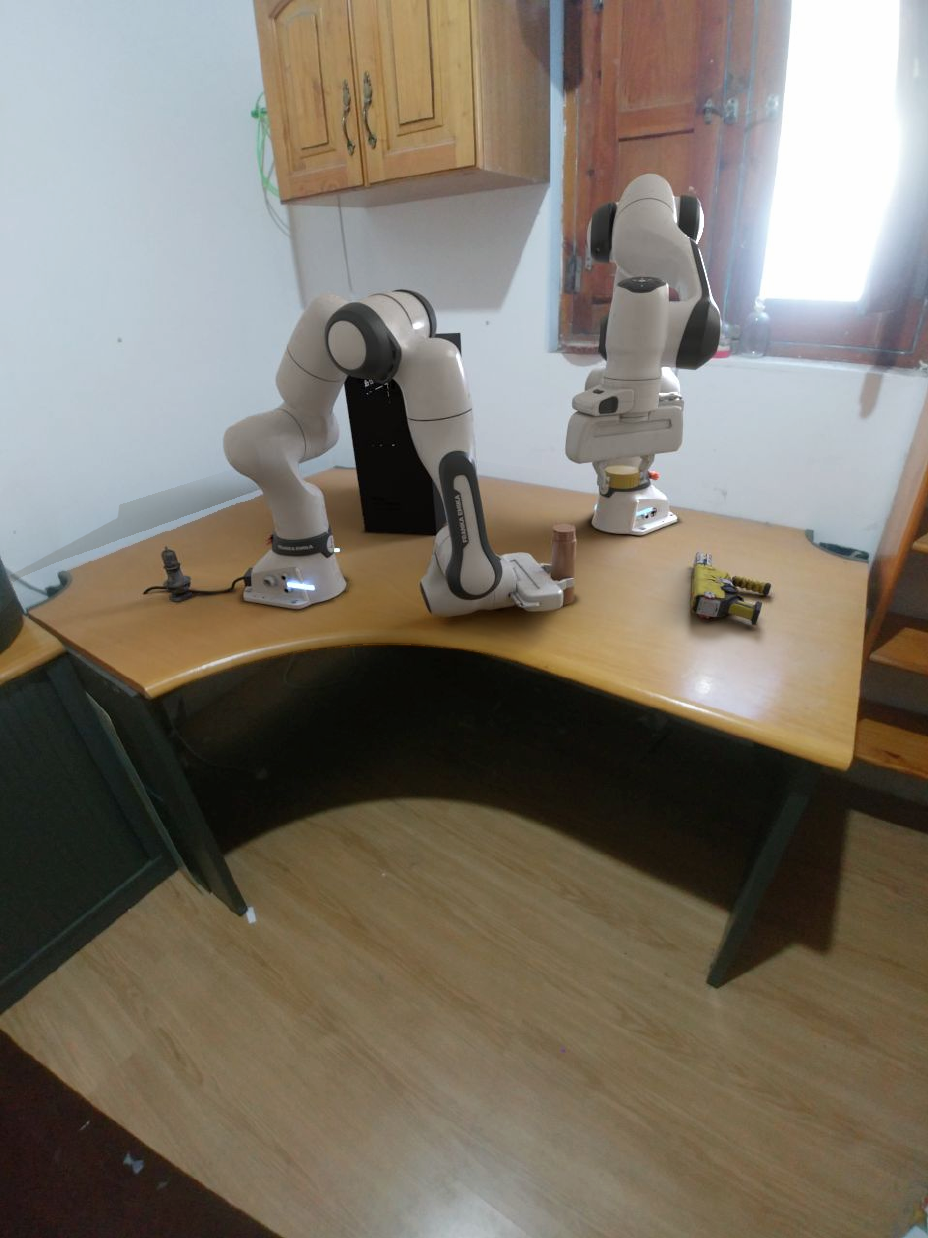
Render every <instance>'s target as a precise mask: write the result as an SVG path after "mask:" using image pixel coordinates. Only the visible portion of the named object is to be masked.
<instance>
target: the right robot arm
mask: <svg viewBox="0 0 928 1238" xmlns="http://www.w3.org/2000/svg"><path fill="white" fill-rule="evenodd" d="M703 228H704V213H703V210H702V203H701V202H700V200H699V199H698V197H696V196H693V195H687V194H681V195H680V196H674V192H673V189H672V186H671V185H670V184H669V182H668V181H667V179H665V178H664V176H661V175H659V174H656V173H646V174H645V173H644V174H641V175H640V176H637V177H635V178H634V179H633V180H632V181H630V182H629V184H628V185H627V186H626V187H625V189H624V191H623V193H622V195H621V197H620V199H619V201H612V200H611V201H608V202H606V203H603V204H600V205H599V206H598V207H596V209H595V210H594V211H593V212H592V215H591V218H590V220H589V222H588V226H587V232H586V243H587V247H588V250H589V254H590V257H591V258H592V259H593V261H594V262H596V263H600V264H606V265H608V264H610V263H614V264H615V265H616V270H615V275H614V280H613V287H612V298H611V303H610V307H609V310H607V311H606V313H604V314H603V316H601V317H600V319H599V340H598V349H597V354H598V355H599V356H600V357H601V358H602V359H603V360H604V362H606V363H605V364H603V365H597V366H596V367H594V368H593V369H592V370H591V371H590V372H589V374H588V375H587V377H586V380H585V381H584V391H582V392H580V393H578V394H576V395H574V396H573V397H572V400H571V407H572V409H573V410H574V411H575V412H574V413H572V414H571V416H570V418H569V420H568V424H567V430H566V437H565V444H564V445H565V446H564V447H565V448H564V453H565V456H566V457H567V459H568V460H569V461H571V462H573V463H575V464H578V465H582V464H589V463H592V464H591V465H592V467H593V469H594V472H595V474H596V475H597V477H596V484H597V487H598V492H599V493H598V498H597V502H596V504H595V506H594V510H595V511H594V514H593V517H592V520H591V525H592V526H593V527H594V528H595V529H597V530H599V531H601V532H605V533H611V534H623V535H625V534H626V535H632V536H633V535H634V536H645V535H646V534H650V533H652V532H654V531H657V530H660V529H662V528H665V527H668V526H670V525H672V524H675V523H677V522H678V516H677V515H676V514H675V513H674V512H672V511H670V503H669V502H670V501H669V498H668V497H667V496H666V495H665V494H664V493H663V492H661V491H660V490H659V489H658V488H656V487H655V486H654V485H652V483H651V480H653V481H658V479H659V478H660V473H659V472H657V471H654V470H651V471H649V469H650V468H651V466H652V465H653V464H654V462H655V457H656V455H659V454H667V453H673V452H674V453H675V452H677V451H678V450H679V449H680V447H682V444H683V439H684V438H683V437H684V409H685V400H684V398H683V397H682V395H681V385H680V381H679V378H678V377H677V376H676V375H675V374H674V372H672V369H673V368H674V369H675V368H676V369H679V370H687V371H688V370H690V371H697V370H698V369H700V368H701V367H702V366H704V365H706V364H707V363H708V362H709V361H710V360H711V359H713V357H715V356H716V354H717V351H718V349H719V346H720V343H721V337H722V329H723V328H722V327H723V326H722V324H723V323H722V318H721V312H720V309H719V307H718V305H717V304H716V302H715V300H714V298H713V295H712V291H711V288H710V283H709V280H708V276H707V271H706V268H705V265H704V261H703V257H702V254H701V250H700V248H699V245H698V242H699V240H700V238H701V236H702V233H703ZM669 288H671V289H672V290H674V291H676V292H677V294H678V298H679V300H677V301H675V300H671V301H670V293H669V292H670V291H669ZM618 465H622V466H631V467H635V468H638V469H639V470H640V473H639V474H640V477H639V484H638V486H636V487H634V488H628V489H619V488H612V487H608V486H610V480H611V476H609V475H606V473H605V468H607V467H610V466H618Z"/></svg>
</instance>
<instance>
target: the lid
mask: <svg viewBox="0 0 928 1238" xmlns="http://www.w3.org/2000/svg"><path fill="white" fill-rule="evenodd" d="M605 473H606V475H609V476H611V480H610V486H608V487H612V488H619V489H628V488H634V487H636V486H638V484H639V477H640V474H639V473H640V470H639V469H638V468H635V467H631V466H622V465H618V466H610V467H607V468H605Z"/></svg>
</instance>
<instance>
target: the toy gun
mask: <svg viewBox="0 0 928 1238" xmlns="http://www.w3.org/2000/svg"><path fill="white" fill-rule="evenodd" d="M703 553H704V552H702V551H698V552H696V553H695V557H694V560H693V565H692V566H693V568H692V570H693V571H692V576H691V599H690V601H691V602H690V603H691V604H690V610H691V612H692V614H697V615H699V617H700V618H705V619H710V617H712V618H722V617H724V616H726V615H727V614H729V615H732V616H737V617H740V618H743V619H746V620H748V621H751V625H752V626H756V625H757V623H758V619H759V616H760V613H761V610H762V606H763V602H762V601H759V600H756V601H755V603H754V604H753V603H749V602H746V601H745V600H744V597H743V596H741V595H739V593H740V592H739V588H740V589H741V590H743V589H745V590H746V591H752V592H754V593H758V594H761V595H763V596H768V595H769V594H770V591H771V588H772V584H771V583H770V582H764V581H762V582H761V581H760V580H754V579H752V578H747V577H746V576H743V577H741V576H740V575H736V574H735V575H734V576H732V577H731V576H730V574H729V573H728V571H724V570H721V569H717V568H715V567H714V566H713V556H712V554H711V553H708V552H706V554H705V555H704V554H703Z"/></svg>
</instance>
